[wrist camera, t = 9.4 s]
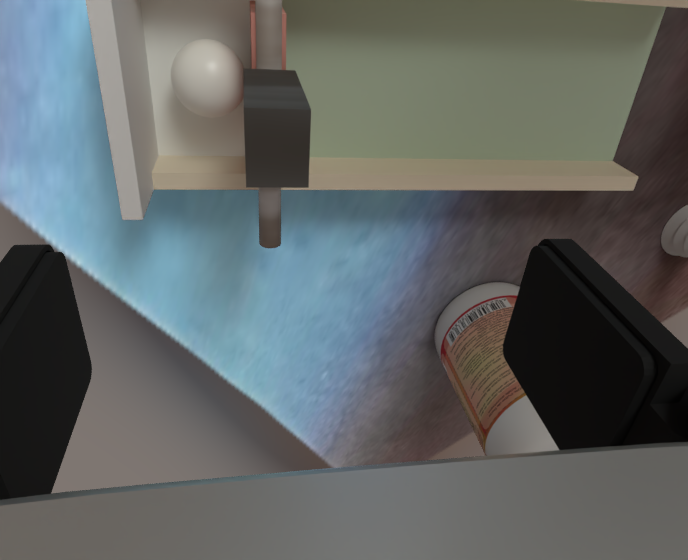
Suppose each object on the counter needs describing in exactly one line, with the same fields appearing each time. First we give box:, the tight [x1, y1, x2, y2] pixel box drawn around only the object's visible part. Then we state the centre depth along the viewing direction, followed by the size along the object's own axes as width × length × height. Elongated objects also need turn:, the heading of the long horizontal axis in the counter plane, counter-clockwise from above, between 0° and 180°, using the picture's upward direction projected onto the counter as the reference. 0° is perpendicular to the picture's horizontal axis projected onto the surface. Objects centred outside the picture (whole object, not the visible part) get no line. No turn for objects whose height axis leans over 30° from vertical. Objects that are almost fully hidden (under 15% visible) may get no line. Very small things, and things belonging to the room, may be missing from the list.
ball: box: [171, 39, 244, 118], centre depth 29 cm, size 4×4×4 cm
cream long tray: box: [86, 0, 688, 220], centre depth 30 cm, size 12×32×8 cm, turn 86°
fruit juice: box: [435, 282, 559, 456], centre depth 34 cm, size 9×9×28 cm
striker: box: [244, 0, 311, 248], centre depth 25 cm, size 16×2×13 cm, turn 176°
